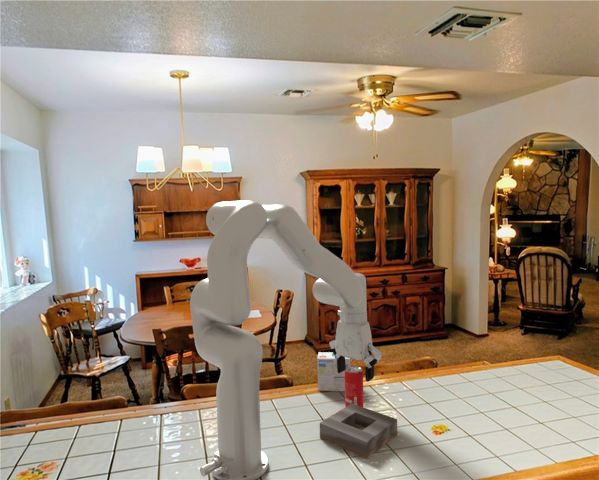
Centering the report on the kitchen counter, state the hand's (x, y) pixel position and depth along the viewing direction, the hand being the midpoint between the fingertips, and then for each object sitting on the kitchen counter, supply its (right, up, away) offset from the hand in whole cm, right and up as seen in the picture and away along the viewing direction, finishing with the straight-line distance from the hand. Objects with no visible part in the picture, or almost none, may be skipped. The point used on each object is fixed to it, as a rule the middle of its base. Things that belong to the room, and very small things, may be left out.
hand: (355, 375), depth 123 cm
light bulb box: (-5, -9, +16) cm, 19 cm away
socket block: (-1, -11, -14) cm, 18 cm away
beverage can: (0, -10, 0) cm, 10 cm away
